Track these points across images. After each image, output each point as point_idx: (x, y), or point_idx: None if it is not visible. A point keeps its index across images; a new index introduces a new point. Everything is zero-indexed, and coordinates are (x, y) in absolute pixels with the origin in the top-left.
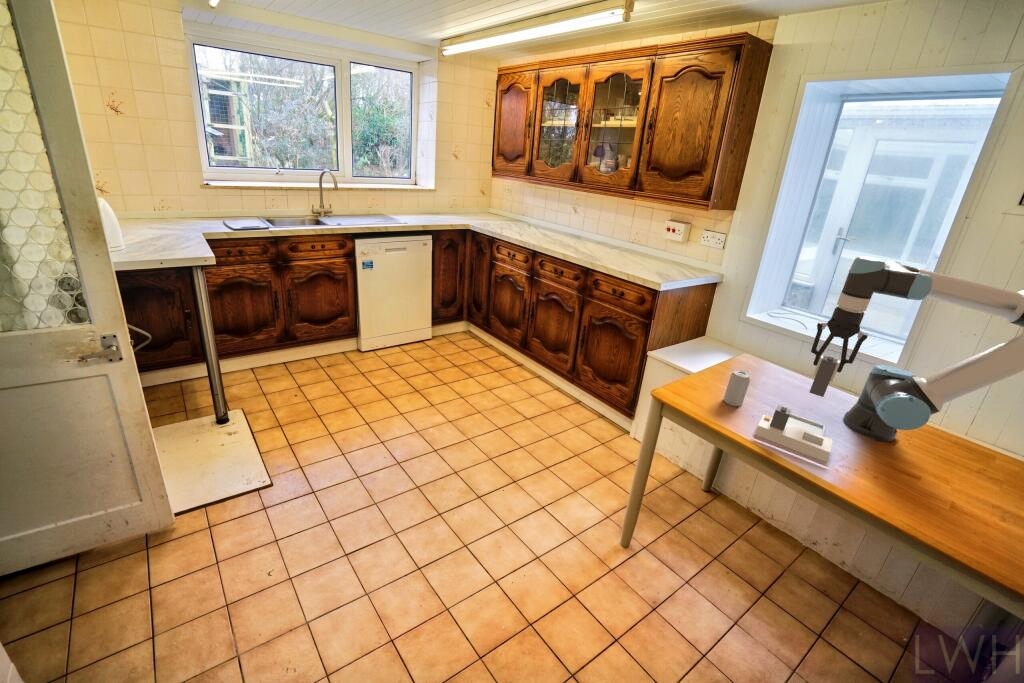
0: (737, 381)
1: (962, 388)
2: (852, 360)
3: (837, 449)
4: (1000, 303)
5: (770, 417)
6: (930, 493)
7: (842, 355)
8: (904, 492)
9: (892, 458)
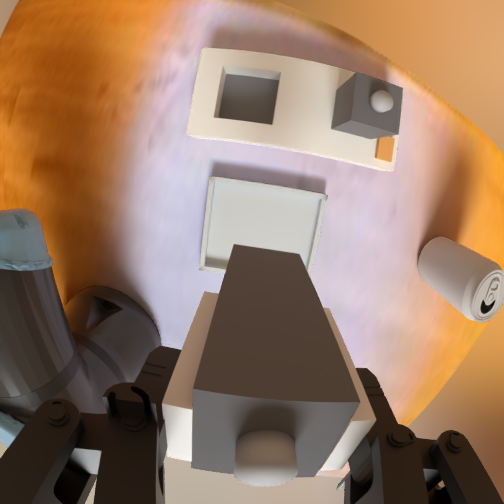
0: (490, 260)
1: None
2: (36, 426)
3: (170, 163)
4: None
5: (378, 149)
6: (28, 119)
7: (141, 496)
8: (65, 78)
9: (64, 218)
